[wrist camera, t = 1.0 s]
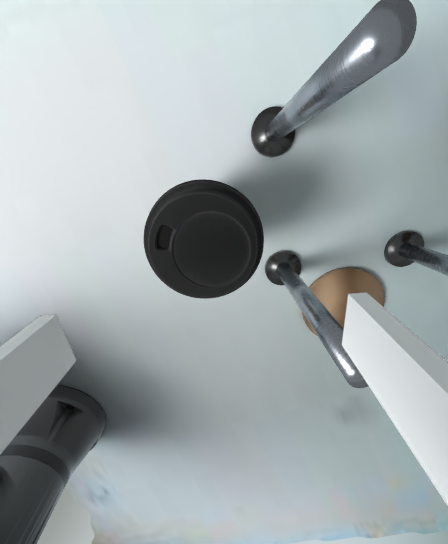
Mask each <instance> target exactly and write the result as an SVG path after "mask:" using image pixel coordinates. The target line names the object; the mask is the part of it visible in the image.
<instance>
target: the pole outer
mask: <svg viewBox="0 0 448 544" xmlns="http://www.w3.org/2000/svg"><path fill="white" fill-rule="evenodd" d="M416 22H417V21H416V13H415V9H414V7H413V5H412V3H411V2H410V1H409V0H380V1H379V2H378V3H377V4H376V5H375V6H374V7H373V8H372V9H371V10H370V12H369V13H368V14H367V15H366V16H365V17H364V18H363V19H362V20H361V22H360V23H359V24H358V25H357V26H356V27H355V28H354V29H353V31H352V32H351V33H350V34H349V35H348V36H347V37H346V38H345V40H344V41H343V42H342V43H341V44H340V45H339V46H338V47H337V48H336V50H335V51H334V52H333V53H332V54H331V55H330V56H329V57H328V59H327V60H326V61H325V62H324V63H323V64H322V65H321V66H320V67H319V69H318V70H317V71H316V72H315V73H314V74H313V75H312V76H311V78H310V79H309V80H308V81H307V82H306V83H305V84H304V85H303V87H302V88H301V89H300V90H299V91H298V92H297V93H296V94H295V95H294V97H293V98H292V99H291V100H290V101H289V102H288V103H287V104H286V106H285V107H284V108H281V107H269V108H267V109H265V110H263V111H262V112H261V113H260V114H259V115H258V116H257V118H256V119H255V121H254V123H253V126H252V130H251V139H252V143H253V145H254V147H255V149H256V150H257V151H258V152H259V153H260V154H261V155H263V156H266V157H276V156H279V155H281V154H283V153H284V152H285V151H287V150H288V148H289V147H290V146H291V144H292V142H293V140H294V136H295V129H296V128H297V127H299V126H300V125H302V124H303V123H305V122H306V121H308V120H309V119H311V118H312V117H314V116H315V115H317V114H318V113H320V112H321V111H323V110H324V109H325V108H327V107H328V106H330V105H331V104H333V103H334V102H336V101H337V100H339V99H340V98H342V97H343V96H345V95H346V94H348V93H349V92H351V91H352V90H354V89H355V88H357V87H358V86H360V85H361V84H362V83H364V82H365V81H367V80H368V79H370V78H371V77H373V76H374V75H376V74H377V73H379V72H380V71H382V70H383V69H385V68H386V67H388V66H389V65H391V64H392V63H394V62H395V61H397V60H398V59H399V58H400V57H401V56H403V55H404V53H405V52H406V51H407V49H408V48H409V46H410V45H411V43H412V40H413V38H414V35H415V31H416Z"/></svg>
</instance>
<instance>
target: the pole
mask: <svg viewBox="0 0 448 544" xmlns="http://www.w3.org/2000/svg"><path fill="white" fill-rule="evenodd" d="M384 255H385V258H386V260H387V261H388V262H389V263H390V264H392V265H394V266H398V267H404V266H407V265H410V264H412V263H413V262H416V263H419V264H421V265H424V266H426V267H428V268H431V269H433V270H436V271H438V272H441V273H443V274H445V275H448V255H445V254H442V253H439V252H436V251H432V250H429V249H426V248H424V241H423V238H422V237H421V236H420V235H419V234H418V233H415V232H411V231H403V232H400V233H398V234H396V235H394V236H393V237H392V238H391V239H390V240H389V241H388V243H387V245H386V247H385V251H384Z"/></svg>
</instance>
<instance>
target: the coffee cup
mask: <svg viewBox="0 0 448 544" xmlns="http://www.w3.org/2000/svg"><path fill="white" fill-rule="evenodd" d="M263 243H264V236H263V228H262V224H261V221H260V218H259V216H258V213H257V212H256V210H255V208H254V207H253V205H252V204H251V203H250V201H249V200H248V199H247V198H246V197H245V196H244V195H243V194H242V193H240V192H239V191H238V190H236V189H234V188H233V187H231V186H229V185H227V184H224V183H221V182H218V181H213V180H192V181H188V182H184V183H181V184H179V185H177V186H175V187H173V188H171V189H170V190H168V191H167V192H166V193H164V194H163V195H162V196H161V197H160V198H159V199H158V201H157V202H156V203H155V205H154V206H153V208H152V209H151V211H150V214H149V216H148V218H147V221H146V225H145V229H144V248H145V253H146V256H147V259H148V261H149V264H150V266H151V268H152V269H153V271H154V272H155V274H156V275H157V276H158V277H159V278H160V279H161V281H163V282H164V283H165V284H166V285H167V286H169V287H170V288H172V289H173V290H175V291H177V292H179V293H181V294H183V295H186V296H190V297H194V298H216V297H221V296H224V295H227V294H229V293H231V292H233V291H235V290H237V289H238V288H240V287H241V286H242V285H244V284H245V283H246V282H247V281H248V280H249V279H250V278H251V276H252V275H253V274H254V272H255V271H256V269H257V267H258V265H259V263H260V260H261V257H262V252H263Z"/></svg>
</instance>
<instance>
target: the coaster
mask: <svg viewBox="0 0 448 544" xmlns="http://www.w3.org/2000/svg"><path fill="white" fill-rule="evenodd" d="M309 289H310V290H311V291H312V292H313V293H314V294H315V296H316V297H317V298H318V299H319V300H320V301H321V303H322V304H323V305H324V306H325V307H326V309H327V310H328V311H329V312H330V313H331V314H332V316H333V317H334V318H335V319H336V320H337V321H338V323H339V324H340V325H341V326H342V327H343V328H344V323H345V315H346V308H347V300H348V294H352V293H366V292H367V293H368V294H369V295H370V296H371V297H372V298H374V299H375V300H376V301H377V302H378V303H379V304H380V305H382V306H384V291H383V288H382V286H381V284H380V282H379V281H378V280H377V279H376V278H375V277H374V276H372V275H371V274H369V273H367V272H366V271H363V270H361V269H358V268H339V269H335V270H332V271H330V272H328V273H325V274H324V275H322V276H321V277H319V278H318V279H317V280H316V281H315V282H314V283H312V285H311V286H310V287H309ZM302 315H303V318H304V321H305V323H306V324H307V326H308V327H309V329H310V330H311V331H312V332H313V333H314V334H316V332H315V331H314V329H313V327H312V326H311V324H310V323H309V321H308V320H307V318H306V317H305V315H304V313H303V312H302ZM316 335H317V334H316ZM317 336H318V335H317Z"/></svg>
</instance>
